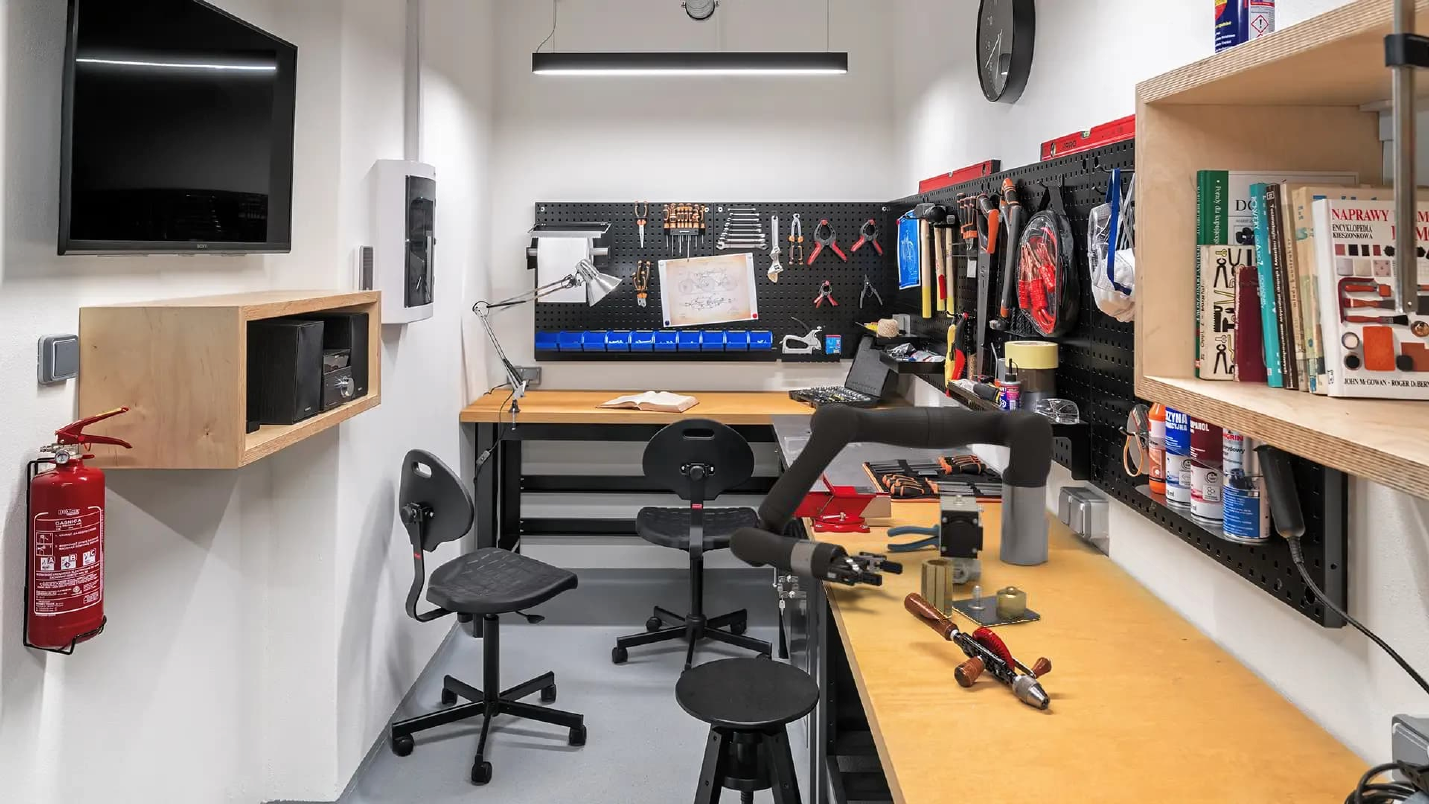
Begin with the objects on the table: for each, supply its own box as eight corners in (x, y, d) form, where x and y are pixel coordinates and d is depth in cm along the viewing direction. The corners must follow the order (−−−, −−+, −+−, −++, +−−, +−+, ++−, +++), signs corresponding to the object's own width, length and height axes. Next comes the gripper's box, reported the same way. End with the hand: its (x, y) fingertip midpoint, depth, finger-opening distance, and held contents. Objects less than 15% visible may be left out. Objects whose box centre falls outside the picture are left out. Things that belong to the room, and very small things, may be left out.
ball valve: (984, 594, 185) (986, 506, 183) (939, 592, 187) (941, 504, 185) (978, 567, 203) (981, 486, 201) (938, 565, 205) (940, 485, 202)
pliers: (967, 545, 219) (968, 521, 218) (971, 548, 217) (972, 523, 216) (885, 550, 216) (885, 525, 215) (888, 553, 214) (889, 528, 213)
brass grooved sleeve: (928, 607, 179) (929, 556, 177) (957, 613, 175) (958, 561, 174) (915, 615, 174) (916, 563, 173) (944, 622, 171) (946, 569, 170)
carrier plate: (1001, 598, 183) (1002, 573, 182) (1040, 619, 172) (1041, 593, 171) (947, 605, 180) (948, 580, 179) (983, 627, 168) (984, 600, 168)
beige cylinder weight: (1014, 608, 176) (1015, 582, 175) (1031, 617, 171) (1032, 591, 170) (990, 611, 174) (991, 585, 173) (1007, 621, 169) (1008, 594, 168)
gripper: (799, 550, 183) (874, 565, 173) (836, 534, 194) (908, 547, 185) (799, 587, 184) (874, 604, 174) (836, 569, 195) (908, 583, 186)
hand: (891, 574), depth 180 cm, fingers open, 8 cm apart
